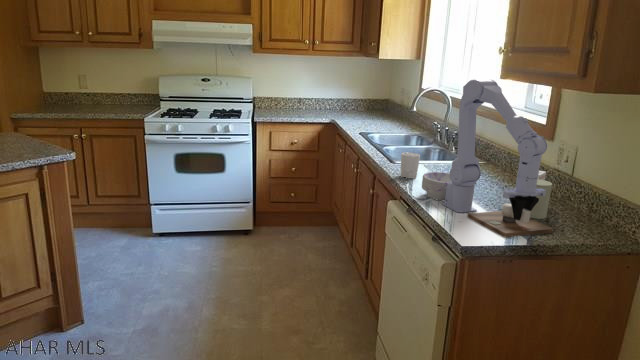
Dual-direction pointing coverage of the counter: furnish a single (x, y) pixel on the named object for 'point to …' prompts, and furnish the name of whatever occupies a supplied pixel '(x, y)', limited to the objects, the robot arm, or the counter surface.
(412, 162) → the white cup
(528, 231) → the post board
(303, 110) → the counter surface
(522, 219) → the white block
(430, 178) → the paper bowls
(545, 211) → the can
